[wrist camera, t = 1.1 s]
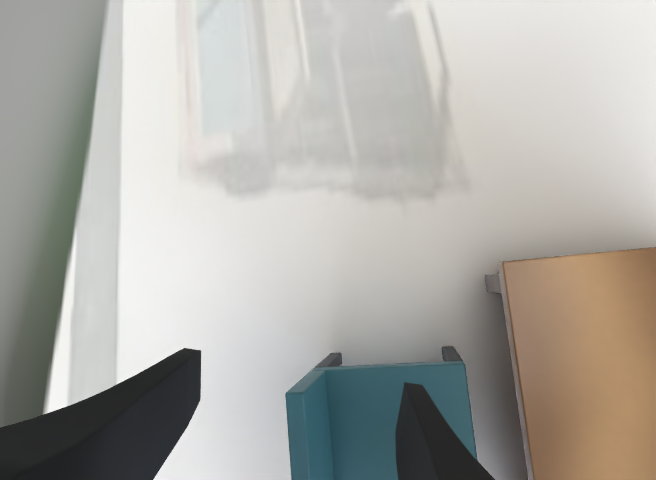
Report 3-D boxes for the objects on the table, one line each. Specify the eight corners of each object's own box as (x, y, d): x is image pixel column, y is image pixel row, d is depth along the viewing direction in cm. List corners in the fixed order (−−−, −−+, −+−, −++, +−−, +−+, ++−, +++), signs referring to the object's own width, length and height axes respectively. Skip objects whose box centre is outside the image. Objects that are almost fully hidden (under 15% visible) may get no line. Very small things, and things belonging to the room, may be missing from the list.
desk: (511, 537, 21) (560, 662, 14) (474, 267, 23) (501, 261, 16) (748, 547, 19) (943, 701, 12) (686, 248, 21) (823, 231, 14)
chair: (339, 453, 24) (296, 554, 15) (330, 352, 24) (284, 392, 16) (467, 453, 22) (503, 566, 13) (453, 346, 23) (479, 386, 14)
